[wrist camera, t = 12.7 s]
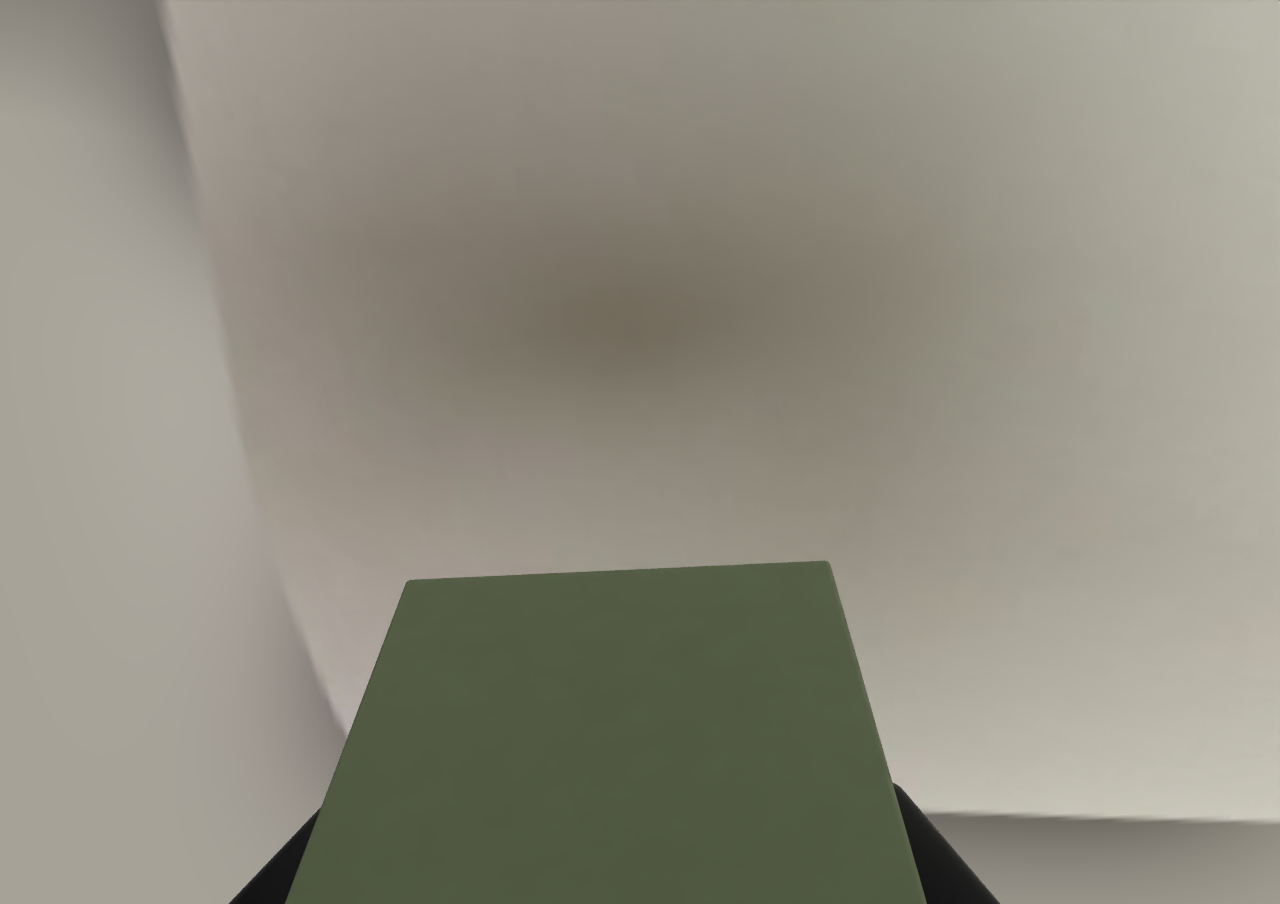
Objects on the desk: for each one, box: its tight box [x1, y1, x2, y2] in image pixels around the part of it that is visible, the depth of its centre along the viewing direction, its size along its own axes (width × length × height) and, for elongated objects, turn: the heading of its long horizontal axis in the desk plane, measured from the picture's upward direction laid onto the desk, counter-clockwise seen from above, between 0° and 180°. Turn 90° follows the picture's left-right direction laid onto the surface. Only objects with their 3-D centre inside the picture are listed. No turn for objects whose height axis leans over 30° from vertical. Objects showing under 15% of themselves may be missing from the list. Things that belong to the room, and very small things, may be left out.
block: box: [285, 561, 927, 904], centre depth 8 cm, size 4×4×4 cm
